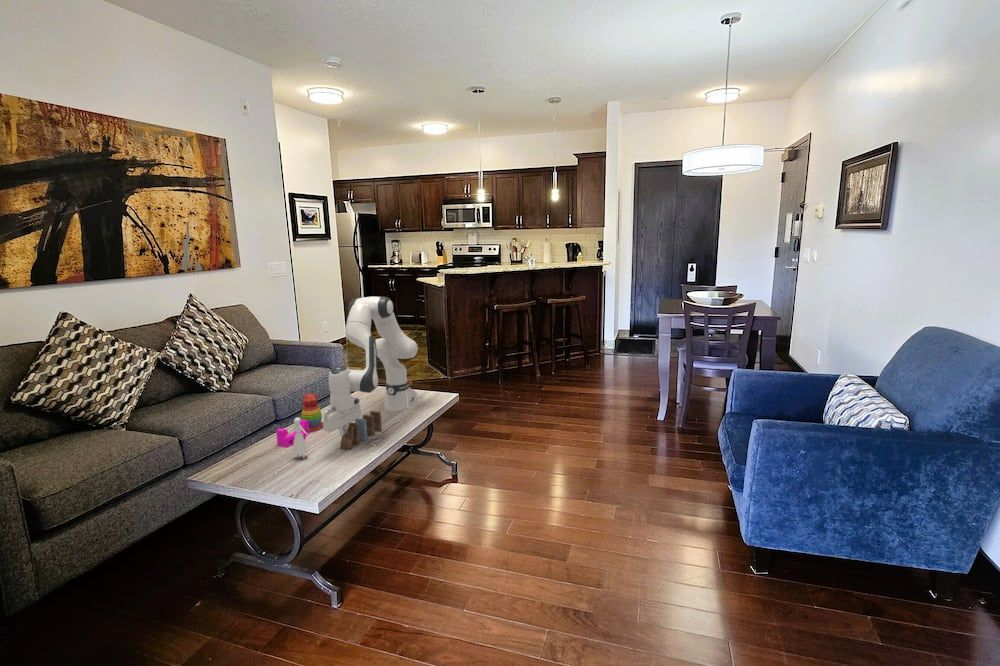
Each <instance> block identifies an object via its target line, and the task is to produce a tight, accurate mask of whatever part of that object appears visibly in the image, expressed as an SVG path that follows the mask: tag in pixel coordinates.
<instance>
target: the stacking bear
mask: <svg viewBox="0 0 1000 666" xmlns="http://www.w3.org/2000/svg"><path fill="white" fill-rule="evenodd" d="M318 400H319V399H318V394H316V393H315V394H311V393H308V394H307V395H306V394H304V395H303V396H302V402H303V405H304V406H303V407H302V410H301V418H300V419H301V420H302V419H303V420H308V423H309V433H314V432H318V431H320V429H321V430H322V429H323V419H322V418H323V417H322V415H323V414H322V411H321V408H320V406H319V405H318Z"/></svg>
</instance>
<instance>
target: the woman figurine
mask: <svg viewBox="0 0 1000 666" xmlns="http://www.w3.org/2000/svg"><path fill="white" fill-rule="evenodd" d="M300 421H301V418H300V417H295V418H294V420H293V424H294V426H293V428H292V429H291V430H290V431H289V432H288V433H289V434H292V433H293V432H294V431H295V430H296V432H297V433H296V435H295V439H294V445H292V446H293V447H292V454H293V455H296V456H297V459H299V458H301V457H302V459H305V458H306V456H305V455H307V454H308V451H309V450H308V447H307V445H306V441H305V439H304V438H303V435H302V433H301V430H302V431H303V432H304V433H306V431H305V430H304V429H303V428H302V426H301V425H300V424H299V423H300ZM289 434H288V435H289ZM306 434H307V433H306ZM288 435H287V436H288ZM287 436H286V437H287ZM307 437H309V438H310V439H312V437H311V435H308V434H307Z"/></svg>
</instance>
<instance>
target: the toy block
mask: <svg viewBox="0 0 1000 666" xmlns="http://www.w3.org/2000/svg"><path fill="white" fill-rule="evenodd" d="M299 424H300V425H301V426H302V428H303V429H304V430H305V431H306V433H307V434H308V435H309V436H311V435H310V432H309V423H308V420H303V419H302V420H301V421H300V423H299ZM275 432H276V433H275V434H276V441H277V446H279V447H283V448H290V447H292V446H293V445H294V439H295V435H296V433H297V432H296V430H295V429H294V431H292V432H291V433H290V434H289V432H288V429H286V428H281V427H280V428H278V429H276V430H275ZM301 433H302V435H303V438H304V440H306V437H308V435H307V434H306V433H304V432H303V431H302V430H301ZM288 434H289V435H288ZM287 435H288V436H287ZM286 436H287V437H286Z"/></svg>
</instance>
